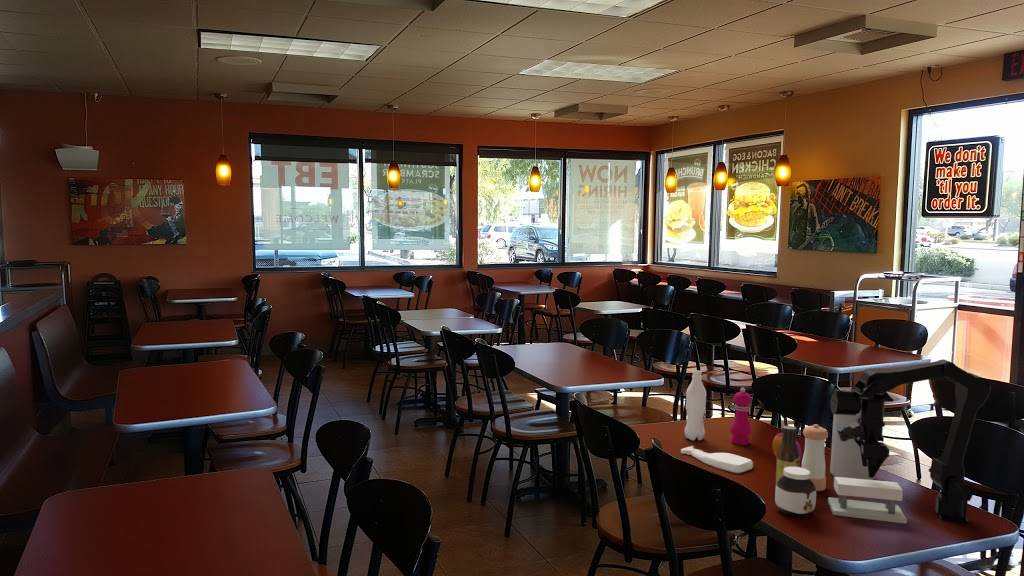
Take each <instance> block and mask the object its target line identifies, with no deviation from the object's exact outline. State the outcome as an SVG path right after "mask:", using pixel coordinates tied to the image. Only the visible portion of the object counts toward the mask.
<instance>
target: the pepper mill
mask: <svg viewBox="0 0 1024 576" xmlns="http://www.w3.org/2000/svg"><path fill="white" fill-rule="evenodd" d="M739 390H740V391H738V392H736V393H735V394H734V396H733V402H734V403H735V404H734V409H735V415H734V419H733V421H732V423H731V426H730V431H729V432H730V433H731V435H732V436H731V443H733V444H734V443H735V445H738V444H739V446H747V444H748V445H749V444H750V443H751V442H750V440H751V439H750V435H752V426H751V424H750V420H749V415H748V414H749V413H748V412H749V411H750V405H751V402H752V397H751V395H750V394H749V393H748V392H747V391H746V388H745V387H741V388H740V389H739Z"/></svg>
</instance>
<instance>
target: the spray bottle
mask: <svg viewBox="0 0 1024 576" xmlns="http://www.w3.org/2000/svg"><path fill="white" fill-rule="evenodd" d="M680 454H682V455H683V454H685V455H690V456H692V457H693V458H695V459H697V460H698V461H701V462H702V463H704V464H706V465H708V466H711V467H713V468H716V469H719V470H722V471H727V472H729V473H733V474H741V473H745V472H747V471H749V470H752V469H753V468H754V462H753V461H752V459H750V458H747V457H743V456H740V455H737V454H733V453H729V452H713V453H712V452H711V453H710V452H709V453H708V452H707V451H706V452H705V451H703V450H702V449H698V448H695V446H694V445H691V446H687V447H684V448H681V449H680Z"/></svg>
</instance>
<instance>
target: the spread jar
mask: <svg viewBox="0 0 1024 576" xmlns="http://www.w3.org/2000/svg"><path fill="white" fill-rule="evenodd" d="M783 474H784V475H783V476H782V477H780V478H779V480H778V481H777V484H776V483H775V493H774V496H775V497H774V500H775V505H776V506H777V508H778V509H779V510H780V511H781V512H782V513H783V514H785V515H788V516H790V517H796V518H797V517H798V518H803V517H807V516H808V515H810V514H811V513H812V512H813V511H814V510H815V507H816V503H817V491H816V486H815V484H814V483H813V481H812V480H811V479H810V471H809V470H807V469H804V468H802V466H799V467H785V468H784V472H783Z"/></svg>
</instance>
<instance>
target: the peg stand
mask: <svg viewBox="0 0 1024 576" xmlns="http://www.w3.org/2000/svg"><path fill="white" fill-rule="evenodd" d="M896 502H897V500H887V499H885V503H882V502H874V501H864V500H856V499H855V500H854V499H849V498H848V496H846V495H838V497H828V498H827V504H828V505H830V506H829V508H830V511H831V513H832V515H833V516H840V517H848V518H849V517H850V518H856V519H865V520H873V521H880V522H881V521H883V522H891V523H897V524H898V523H899V524H907V518H906V516H905V514H904V513H903V511H902V509H901V507H900V506H899V505H898V504H896Z"/></svg>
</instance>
